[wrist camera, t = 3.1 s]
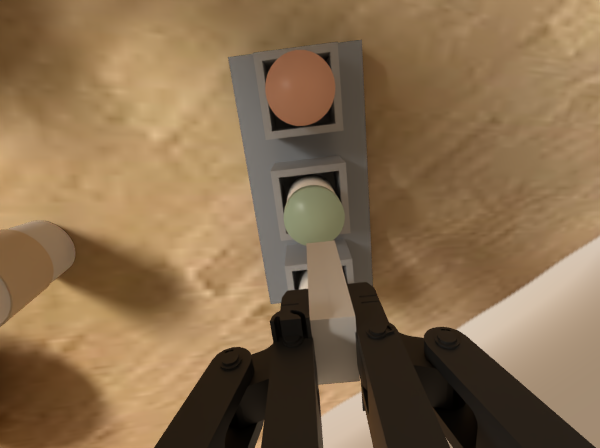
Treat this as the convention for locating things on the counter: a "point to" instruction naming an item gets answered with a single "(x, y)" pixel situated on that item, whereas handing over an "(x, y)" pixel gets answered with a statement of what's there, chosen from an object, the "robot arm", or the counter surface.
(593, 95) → the counter surface
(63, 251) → the coffee cup
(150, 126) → the counter surface
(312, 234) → the plunger sage
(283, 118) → the plunger terracotta
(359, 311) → the robot arm
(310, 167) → the grey slotted block
